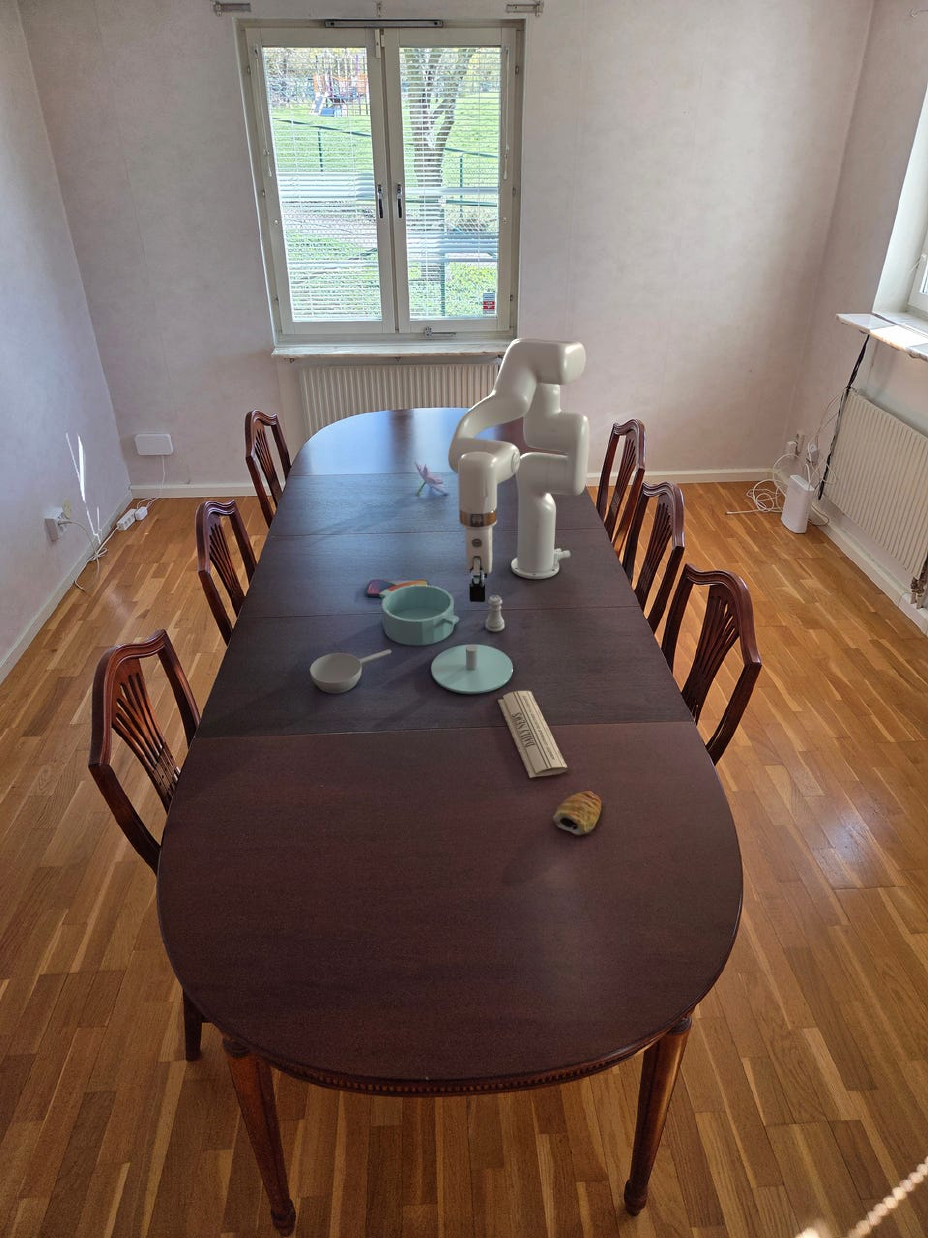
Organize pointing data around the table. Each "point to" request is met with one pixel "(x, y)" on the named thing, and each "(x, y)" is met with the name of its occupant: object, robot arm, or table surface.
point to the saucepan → (339, 671)
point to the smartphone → (390, 585)
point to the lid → (472, 669)
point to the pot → (418, 614)
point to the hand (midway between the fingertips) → (478, 589)
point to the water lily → (429, 479)
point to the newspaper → (532, 734)
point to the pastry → (578, 813)
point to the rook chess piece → (495, 615)
